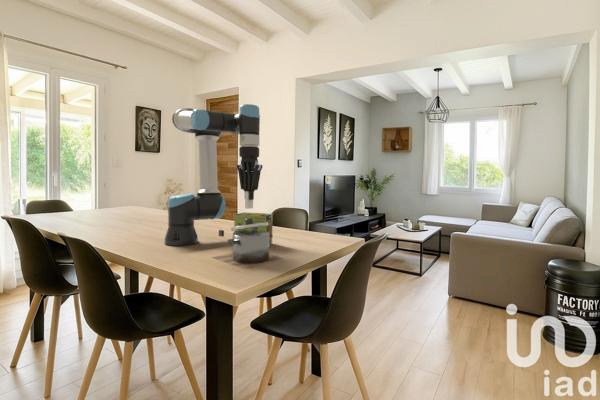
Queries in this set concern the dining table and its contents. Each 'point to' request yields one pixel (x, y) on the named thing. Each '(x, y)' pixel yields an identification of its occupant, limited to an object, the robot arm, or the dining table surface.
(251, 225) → the lid
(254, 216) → the protein box
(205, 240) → the dining table surface
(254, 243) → the pot
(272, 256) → the board
